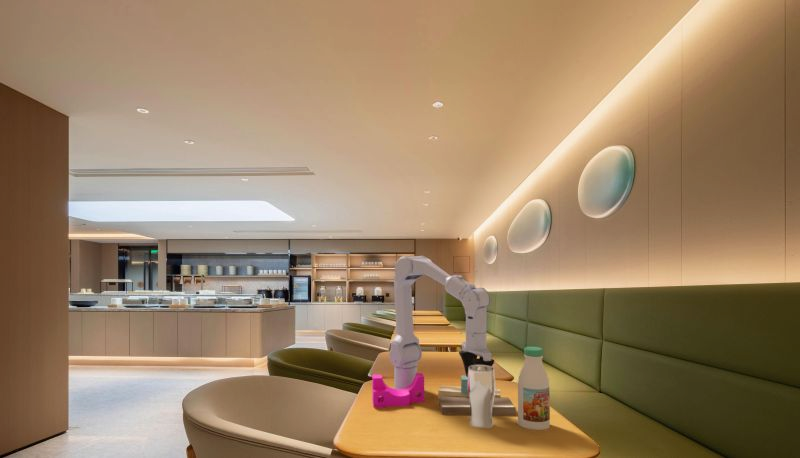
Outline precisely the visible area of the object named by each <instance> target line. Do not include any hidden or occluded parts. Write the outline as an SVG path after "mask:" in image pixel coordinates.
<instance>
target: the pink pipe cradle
mask: <svg viewBox="0 0 800 458" xmlns="http://www.w3.org/2000/svg"><path fill="white" fill-rule="evenodd" d="M371 377H372V379H371V380H372V383H371V385H372V387H371V388H372V389H371V391H372V393H371V396H372V397H371V400H372V406H373V408H374V407H377V408H388V407H401V406H403V407H405V406H406V407H407V406H411V405H410V403H424V402H425V376H424V373H423V372H419V373H418V372H417V373H415V378H414V380H413V381H412V383H411V384H410V385H409V386H407V387H406V388H403V389H394V388H393V387H390V386H388V385H387V384H386V383H385V381H384V380H383V376H382V373H381V374H372V375H371Z"/></svg>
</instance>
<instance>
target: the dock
mask: <svg viewBox="0 0 800 458" xmlns="http://www.w3.org/2000/svg"><path fill="white" fill-rule="evenodd" d="M438 401H439V402H438V404H439V409H440V413H441V415H469V416H471V407H470V401H469V397H439V400H438ZM493 415H495V416H496V415H497V416H499V415H501V416H508V415H510V416H511V415H512V416H516V406H515V404H514V403H513V402H512V400H511V398H509V397H507V396H506V397H502V396H500V397H494V403H493V409H492V416H493Z"/></svg>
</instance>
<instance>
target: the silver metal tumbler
mask: <svg viewBox="0 0 800 458" xmlns="http://www.w3.org/2000/svg"><path fill="white" fill-rule="evenodd" d="M495 370H496V369H495V367H493V365H492V366H488V365H471V366H469V367H468V395H469V401H470V407H471V415H470V421H469V425H470V426H472V427H474V428H478V429H489V428H492V427H494V421H493V415H492V409H493V403H494V397H495V389H496V373H495Z"/></svg>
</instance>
